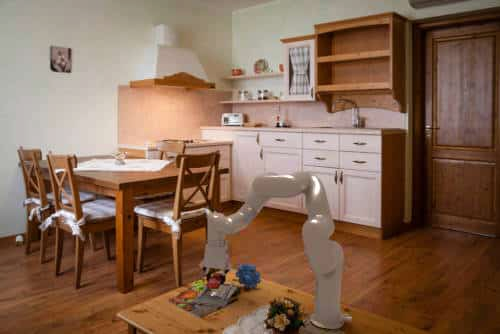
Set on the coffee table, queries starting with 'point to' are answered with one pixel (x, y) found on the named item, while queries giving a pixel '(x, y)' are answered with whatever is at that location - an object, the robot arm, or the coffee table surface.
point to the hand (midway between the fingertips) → (215, 282)
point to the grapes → (248, 275)
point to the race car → (214, 281)
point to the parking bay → (214, 297)
